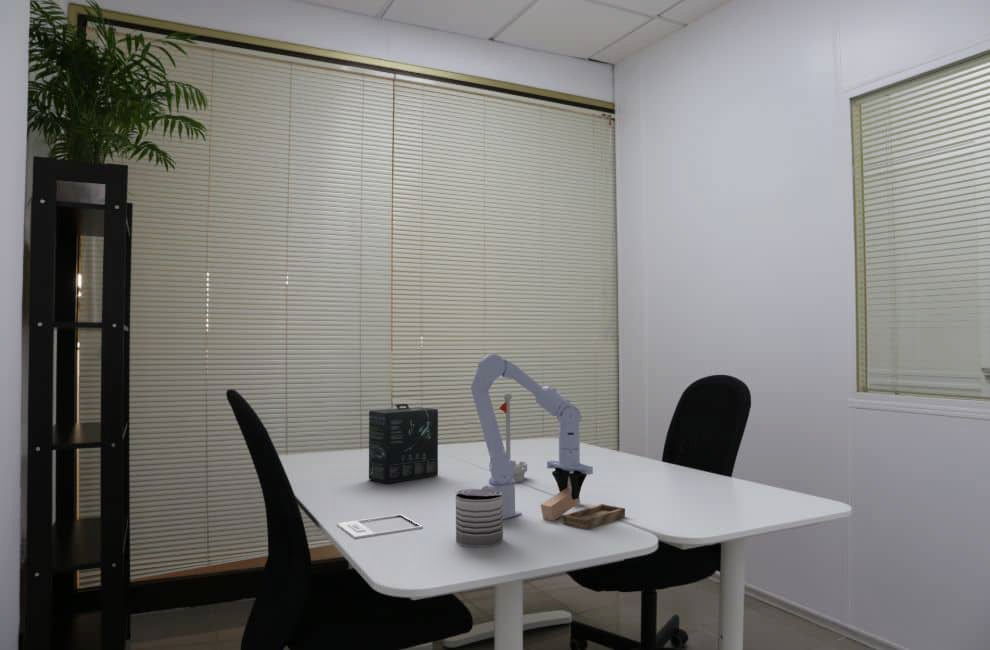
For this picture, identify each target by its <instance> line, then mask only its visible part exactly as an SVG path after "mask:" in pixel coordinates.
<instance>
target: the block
mask: <svg viewBox="0 0 990 650" xmlns="http://www.w3.org/2000/svg"><path fill="white" fill-rule="evenodd" d="M580 503H581V500H580V497H579V498H578V499H572V490H571V487H567V488H565V489H564V490H562V491H561V492H560V491H559V492H558V493H556V494H554V495H553V496H552V497H550V498H549V499H547V500H545V501H544V502H542V503H540V508H541V514H542V519H544V520H549V521H552V522H553V521H555V520H556V519H558V518H560V516H562V515H565V514H566V513H567V512H568V511H570V510H571V509H572V508H574V507H576V506H577V505H579V504H580Z"/></svg>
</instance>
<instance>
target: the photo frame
mask: <svg viewBox="0 0 990 650" xmlns="http://www.w3.org/2000/svg"><path fill="white" fill-rule="evenodd" d="M397 516H398V517H402V516H403V517H402V518H404V519H405V520H408V521H409V520H410V522H411V521H412V523H413V524H415V525H416V524H417V526H412V527H411V526H410V527H406V528H405V527H404V528H399V529H393V530H385V531H379V532H374V531H373V530H371V529H370V528H369V527H367V526H365V525H364V524H363V523H362V522H361V521H368V520H374V521H376V520H375V519H381V520H385V519H384V518H388V519H392V518H391V517H395V518H398V517H397ZM360 522H361V523H360ZM368 522H369V521H368ZM337 525H339V526H340V527H341V528H342V529H343V530H342V529H341V528H340V527H339V528H340V529H341V530H342V531H344V530H345V531H346V532H347V533H346V532H345V531H344V532H345V533H346V534H348V535H349V534H350V535H351V536H350V535H349V536H350V537H352V538H353V539H354V538H358V539H363V538H362V537H364V538H370V537H376V536H375V535H377V536H382V534H383V535H388V534H395V533H401V532H407V531H408V530H409V531H414V529H415V530H421V529H424V526H423V525H422V524H420V523H418V522H417V521H414V520H413V519H411V518H409V517H407V516H405V515H404V514H402V513H400V514H392V515H386V516H379V517H378V516H377V517H373V518H366V519H365V518H364V519H358V520H351V521H350V520H349V521H345V522H344V521H343V522H338V523H336V526H337ZM418 525H419V526H418ZM420 528H421V529H420ZM409 531H408V532H409ZM369 536H370V537H369Z"/></svg>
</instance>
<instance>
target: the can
mask: <svg viewBox="0 0 990 650" xmlns="http://www.w3.org/2000/svg"><path fill="white" fill-rule="evenodd" d="M454 492H455V494H456V495H455V536H456V537H455V541H456V543H457V544H458V545H459V546H462V547H468V548H475V549H476V548H478V549H479V548H491V547H494V546H498V545H500V544H502V542H503V541H504V531H503V530H504V527H503V526H504V525H503V523H504V521H503V520H504V519H503V503H502V493H503V492H500V491H494V490H483V489H482V488H481V489H480V488H469V489H468V488H467V489H457V490H456V491H454Z"/></svg>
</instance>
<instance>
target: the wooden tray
mask: <svg viewBox="0 0 990 650" xmlns="http://www.w3.org/2000/svg"><path fill="white" fill-rule="evenodd" d="M562 515H563V516H562V518H563V521H562V524H563V525H565V526H569V527H575V528H578V529H583V530H589V529H592V528H595V527H598V526H600V525H603V524H607V523H611V522H613V521H616V520H620V519H623V518H625V517H626V508H624V507H619V506H614V505H610V504H604V503H601V504H598V505H594V506H591V507H588V508H585V509H581V510H577V511H574V512H573V511H572V512H570V513H568V514H567V513H566V514H562ZM624 516H625V517H624ZM622 517H623V518H622Z"/></svg>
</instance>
